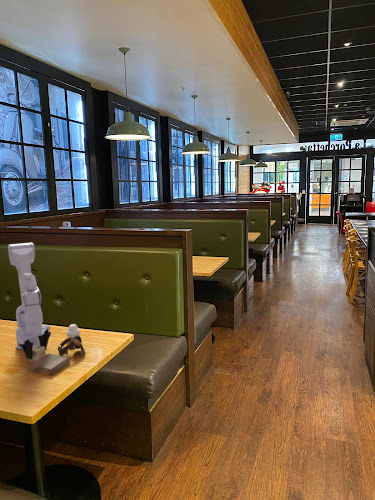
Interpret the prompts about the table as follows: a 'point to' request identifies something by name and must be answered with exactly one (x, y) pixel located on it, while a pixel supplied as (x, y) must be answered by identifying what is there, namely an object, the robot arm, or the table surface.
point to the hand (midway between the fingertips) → (36, 354)
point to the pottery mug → (71, 345)
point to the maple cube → (37, 353)
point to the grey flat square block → (49, 364)
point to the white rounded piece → (73, 331)
